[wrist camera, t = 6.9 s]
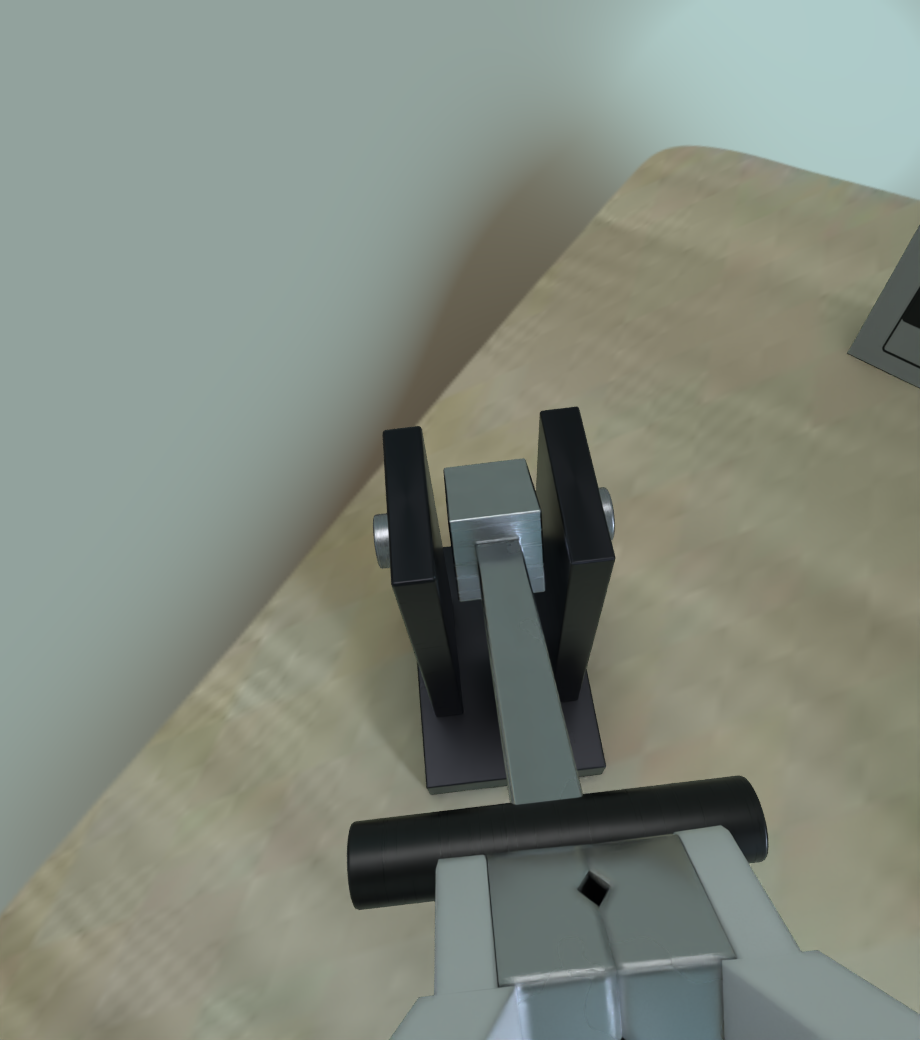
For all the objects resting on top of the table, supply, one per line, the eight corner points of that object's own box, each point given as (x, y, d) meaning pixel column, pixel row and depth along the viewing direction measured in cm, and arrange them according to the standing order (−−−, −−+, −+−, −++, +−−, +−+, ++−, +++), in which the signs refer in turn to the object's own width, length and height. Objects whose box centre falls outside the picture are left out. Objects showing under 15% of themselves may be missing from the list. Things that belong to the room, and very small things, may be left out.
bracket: (602, 774, 25) (665, 655, 15) (429, 795, 25) (372, 690, 15) (557, 547, 29) (581, 336, 19) (412, 564, 29) (359, 363, 19)
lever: (759, 902, 11) (779, 798, 10) (366, 949, 11) (335, 852, 10) (596, 525, 20) (596, 448, 19) (386, 550, 20) (372, 475, 19)
